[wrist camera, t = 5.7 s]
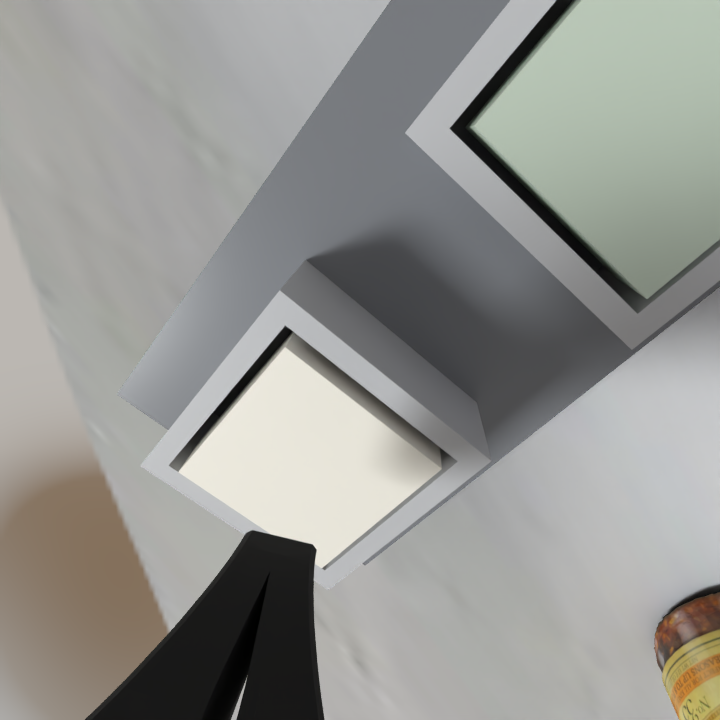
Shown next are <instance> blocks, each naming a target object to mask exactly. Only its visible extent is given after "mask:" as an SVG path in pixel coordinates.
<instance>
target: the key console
mask: <svg viewBox="0 0 720 720" xmlns="http://www.w3.org/2000/svg"><path fill="white" fill-rule="evenodd" d="M572 1H573V0H391V1H390V2H389V4H388V5H387V7H386V8H385V10H384V11H383V12H382V14H381V15H380V17H379V18H378V20H377V21H376V23H375V24H374V25H373V27H372V28H371V30H370V31H369V33H368V34H367V35H366V37H365V38H364V40H363V41H362V43H361V44H360V45H359V47H358V48H357V50H356V51H355V53H354V54H353V56H352V57H351V58H350V60H349V61H348V63H347V64H346V66H345V67H344V68H343V70H342V71H341V73H340V74H339V76H338V77H337V79H336V80H335V81H334V83H333V84H332V86H331V87H330V89H329V90H328V91H327V93H326V94H325V96H324V97H323V99H322V100H321V101H320V103H319V104H318V106H317V107H316V109H315V110H314V112H313V113H312V114H311V116H310V117H309V119H308V120H307V122H306V123H305V124H304V126H303V127H302V129H301V130H300V132H299V133H298V135H297V136H296V137H295V139H294V140H293V142H292V143H291V145H290V146H289V147H288V149H287V150H286V152H285V153H284V155H283V156H282V157H281V159H280V160H279V162H278V163H277V165H276V166H275V168H274V169H273V170H272V172H271V173H270V175H269V176H268V178H267V179H266V180H265V182H264V183H263V185H262V186H261V188H260V189H259V191H258V192H257V193H256V195H255V196H254V198H253V199H252V201H251V202H250V203H249V205H248V206H247V208H246V209H245V211H244V212H243V213H242V215H241V216H240V218H239V219H238V221H237V222H236V224H235V225H234V226H233V228H232V229H231V231H230V232H229V234H228V235H227V236H226V238H225V239H224V241H223V242H222V244H221V245H220V247H219V248H218V249H217V251H216V252H215V254H214V255H213V257H212V258H211V259H210V261H209V262H208V264H207V265H206V267H205V268H204V269H203V271H202V272H201V274H200V275H199V277H198V278H197V280H196V281H195V282H194V284H193V285H192V287H191V288H190V290H189V291H188V292H187V294H186V295H185V297H184V298H183V300H182V301H181V303H180V304H179V305H178V307H177V308H176V310H175V311H174V313H173V314H172V315H171V317H170V318H169V320H168V321H167V323H166V324H165V326H164V327H163V328H162V330H161V331H160V333H159V334H158V336H157V337H156V338H155V340H154V341H153V343H152V344H151V346H150V347H149V348H148V350H147V351H146V353H145V354H144V356H143V357H142V359H141V360H140V361H139V363H138V364H137V366H136V367H135V369H134V370H133V371H132V373H131V374H130V376H129V377H128V379H127V380H126V382H125V383H124V384H123V386H122V387H121V389H120V390H119V392H118V393H117V395H118V396H120V397H121V398H123V399H124V400H125V401H127V402H128V403H130V404H131V405H133V406H134V407H136V408H137V409H139V410H140V411H141V412H143V413H144V414H146V415H147V416H149V417H150V418H152V419H153V420H155V421H156V422H157V423H159V424H160V425H162V426H163V427H165V428H166V429H168V431H167V433H166V434H165V435H164V436H163V438H162V439H161V440H160V441H159V443H158V444H157V445H156V446H155V448H154V449H153V450H152V451H151V453H150V454H149V455H148V456H147V458H146V459H145V460H144V461H143V463H142V464H141V465H140V466H141V467H142V468H144V469H145V470H147V471H148V472H150V473H151V474H153V475H154V476H156V477H157V478H159V479H160V480H162V481H163V482H165V483H166V484H168V485H170V486H171V487H173V488H174V489H176V490H177V491H179V492H180V493H182V494H183V495H185V496H186V497H188V498H189V499H191V500H192V501H194V502H195V503H197V504H198V505H200V506H201V507H203V508H204V509H206V510H207V511H209V512H210V513H212V514H213V515H215V516H216V517H218V518H219V519H221V520H223V521H224V522H226V523H227V524H229V525H230V526H232V527H233V528H235V529H236V530H238V531H239V532H241V533H242V534H244V535H245V534H246V533H247V532H249V531H251V530H255V531H259V532H263V533H267V534H270V533H268V532H267V531H265V530H264V529H262V528H261V527H259V526H258V525H256V524H255V523H253V522H252V521H250V520H249V519H247V518H246V517H244V516H243V515H241V514H240V513H238V512H237V511H235V510H234V509H232V508H231V507H229V506H228V505H226V504H225V503H223V502H222V501H220V500H219V499H217V498H216V497H214V496H213V495H211V494H210V493H208V492H207V491H205V490H204V489H202V488H201V487H199V486H198V485H196V484H195V483H194V482H192V481H191V480H189V479H188V478H186V477H185V476H183V475H182V474H180V473H179V470H180V469H181V467H182V466H183V464H184V463H185V462H186V460H187V459H188V457H189V456H190V454H191V453H192V451H193V450H194V449H195V447H196V446H197V444H198V443H199V441H200V440H201V438H202V437H203V436H204V435H205V434H206V433H207V431H208V430H209V429H210V428H211V427H212V425H213V424H214V423H215V422H216V421H217V420H218V418H219V417H220V416H221V415H222V414H223V412H224V411H225V410H226V409H227V408H228V407H229V405H230V404H231V403H232V402H233V401H234V400H235V398H236V397H237V396H238V395H239V394H240V392H241V391H242V390H243V389H244V388H245V387H246V385H247V384H248V383H249V382H250V381H251V379H252V378H253V377H254V376H255V375H256V374H257V372H258V371H259V370H260V369H261V368H262V366H263V365H264V364H265V363H266V362H267V361H268V359H269V358H270V357H271V356H272V355H273V353H274V352H275V351H276V350H277V349H278V348H279V346H280V345H281V344H282V343H283V342H284V341H285V339H286V338H287V337H288V336H289V335H290V333H291V332H292V331H293V332H294V333H296V334H297V335H298V336H299V337H301V338H302V339H303V340H304V341H306V342H307V343H308V344H310V345H311V346H312V347H313V348H315V349H316V350H317V351H318V352H320V353H321V354H322V355H323V356H325V357H326V358H327V359H329V360H330V361H331V362H332V363H334V364H335V365H336V366H337V367H339V368H340V369H341V370H342V371H344V372H345V373H346V374H348V375H349V376H350V377H351V378H353V379H354V380H355V381H356V382H358V383H359V384H360V385H361V386H363V387H364V388H365V389H367V390H368V391H369V392H370V393H372V394H373V395H374V396H375V397H377V398H378V399H379V400H380V401H382V402H383V403H384V404H386V405H387V406H388V407H389V408H391V409H392V410H393V411H394V412H396V413H397V414H398V415H399V416H401V417H402V418H403V419H405V420H406V421H407V422H408V423H410V424H411V425H412V426H413V427H415V428H416V429H417V430H419V431H420V432H421V433H422V434H424V435H425V436H426V437H427V438H429V439H430V440H431V441H432V442H434V443H435V444H436V445H438V446H439V447H440V455H441V465H442V469H441V470H440V471H439V472H438V473H437V474H435V475H434V476H433V477H432V478H430V479H429V480H428V481H427V482H426V483H424V484H423V485H422V486H421V487H420V488H418V489H417V490H416V491H415V492H414V493H412V494H411V495H410V496H409V497H407V498H406V499H405V500H404V501H403V502H401V503H400V504H399V505H398V506H397V507H395V508H394V509H393V510H392V511H391V512H389V513H388V514H387V515H386V516H385V517H383V518H382V519H381V520H380V521H378V522H377V523H376V524H375V525H374V526H372V527H371V528H370V529H369V530H368V531H366V532H365V533H364V534H363V535H362V536H360V537H359V538H358V539H357V540H355V541H354V542H353V543H352V544H351V545H349V546H348V547H347V548H346V549H345V550H343V551H342V552H341V553H340V554H339V555H337V556H336V557H335V558H334V559H333V560H331V561H330V562H329V563H328V564H326V565H325V566H324V567H323V568H320V567H319V566H317V565H316V564H315V567H314V581H315V582H316V583H318V584H319V585H321V586H322V587H324V588H326V589H327V590H329V589H331V588H332V587H333V586H334V585H336V584H337V583H338V582H339V581H341V580H342V579H343V578H344V577H346V576H347V575H348V574H350V573H351V572H352V571H353V570H355V569H356V568H357V567H358V566H360V565H361V564H364V565H366V564H368V563H369V562H370V561H371V560H373V559H374V558H375V557H376V556H378V555H379V554H380V553H382V552H383V551H384V550H385V549H387V548H388V547H389V546H390V545H392V544H393V543H394V542H396V541H397V540H398V539H399V538H401V537H402V536H403V535H404V534H406V533H407V532H408V531H410V530H411V529H412V528H413V527H415V526H416V525H417V524H418V523H420V522H421V521H422V520H424V519H425V518H426V517H427V516H429V515H430V514H431V513H432V512H434V511H435V510H436V509H437V508H439V507H440V506H441V505H443V504H444V503H445V502H446V501H448V500H449V499H450V498H451V497H453V496H454V495H455V494H457V493H458V492H459V491H460V490H462V489H463V488H464V487H465V486H467V485H468V484H469V483H471V482H472V481H473V480H474V479H476V478H477V477H478V476H479V475H481V474H482V473H483V472H485V471H486V470H487V469H488V468H490V467H491V466H492V465H493V464H495V463H496V462H497V461H499V460H500V459H501V458H502V457H504V456H505V455H506V454H507V453H509V452H510V451H511V450H513V449H514V448H515V447H516V446H518V445H519V444H520V443H521V442H523V441H524V440H525V439H527V438H528V437H529V436H530V435H532V434H533V433H534V432H535V431H537V430H538V429H539V428H541V427H542V426H543V425H544V424H546V423H547V422H548V421H549V420H551V419H552V418H553V417H555V416H556V415H557V414H558V413H560V412H561V411H562V410H563V409H565V408H566V407H567V406H568V405H570V404H571V403H572V402H574V401H575V400H576V399H577V398H579V397H580V396H581V395H582V394H584V393H585V392H586V391H588V390H589V389H590V388H591V387H593V386H594V385H595V384H596V383H598V382H599V381H600V380H602V379H603V378H604V377H605V376H607V375H608V374H609V373H610V372H612V371H613V370H614V369H616V368H617V367H618V366H619V365H621V364H622V363H623V362H624V361H626V360H627V359H628V358H630V357H631V356H632V355H633V354H635V353H636V352H637V351H638V350H640V349H641V348H642V347H644V346H645V345H646V344H647V343H649V342H650V341H651V340H652V339H654V338H655V337H656V336H658V335H659V334H660V333H661V332H663V331H664V330H665V329H666V328H668V327H669V326H670V325H672V324H673V323H674V322H675V321H677V320H678V319H679V318H680V317H682V316H683V315H684V314H686V313H687V312H688V311H689V310H691V309H692V308H693V307H694V306H696V305H697V304H698V303H700V302H701V301H702V300H703V299H705V298H706V297H707V296H708V295H710V294H711V293H712V292H713V291H715V290H716V289H717V288H719V287H720V239H719V240H718V241H717V242H716V243H715V244H713V245H712V246H711V247H710V248H709V249H707V250H706V251H705V252H704V253H703V254H701V255H700V256H699V257H698V258H696V259H695V260H694V261H693V262H692V263H690V264H689V265H688V266H687V267H686V268H684V269H683V270H682V271H681V272H680V273H678V274H677V275H676V276H675V277H673V278H672V279H671V280H670V281H669V282H667V283H666V284H665V285H664V286H663V287H661V288H660V289H659V290H658V291H657V292H655V293H654V294H653V295H652V296H651V297H649V298H648V299H646V298H644V297H643V296H642V295H640V294H639V293H637V292H636V291H634V290H633V289H631V288H630V287H628V286H627V285H625V284H624V283H622V282H621V281H620V280H618V279H617V278H616V277H615V276H614V275H613V274H612V273H611V272H610V271H609V270H608V269H607V268H606V267H605V266H604V265H603V264H602V263H601V262H600V261H599V260H598V259H597V258H596V257H595V256H594V255H593V254H592V253H591V252H589V251H588V250H587V249H586V248H585V247H584V246H583V245H582V244H581V243H580V242H579V241H578V240H577V239H576V238H575V237H574V236H573V235H572V234H571V233H570V232H569V231H568V230H567V229H566V228H565V227H564V226H563V225H562V224H561V223H560V222H559V221H558V220H557V219H556V218H555V217H554V216H553V215H552V214H551V213H550V212H549V211H548V210H547V209H546V208H545V207H544V206H543V205H542V204H541V203H540V202H539V201H538V200H537V199H536V198H535V197H534V196H533V195H532V194H531V193H530V192H529V191H528V190H527V189H526V188H525V187H524V186H523V185H522V184H521V183H520V182H519V181H518V180H517V179H516V178H515V177H514V176H513V175H512V174H511V173H510V172H509V171H508V170H507V169H506V168H505V167H504V166H503V165H502V164H501V163H500V162H499V161H498V160H497V159H496V158H495V157H494V156H493V155H492V154H491V153H490V152H489V151H488V150H487V149H486V148H485V147H484V146H483V145H482V144H481V143H480V142H479V141H478V140H477V139H476V138H475V137H474V136H473V135H472V134H471V133H470V132H469V131H468V130H467V129H466V128H465V127H466V126H467V125H468V123H469V122H470V121H471V120H472V119H473V117H474V116H475V115H476V114H477V113H478V112H479V110H480V109H481V108H482V107H483V106H484V104H485V103H486V102H487V101H488V100H489V99H490V97H491V96H492V95H493V94H494V93H495V91H496V90H497V89H498V88H499V87H500V86H501V84H502V83H503V82H504V81H505V80H506V79H507V77H508V76H509V75H510V74H511V73H512V71H513V70H514V69H515V68H516V67H517V66H518V64H519V63H520V62H521V61H522V60H523V58H524V57H525V56H526V55H527V54H528V53H529V51H530V50H531V49H532V48H533V47H534V45H535V44H536V43H537V42H538V41H539V40H540V38H541V37H542V36H543V35H544V34H545V32H546V31H547V30H548V29H549V28H550V27H551V25H552V24H553V23H554V22H555V21H556V20H557V18H558V17H559V16H560V15H561V14H562V12H563V11H564V10H565V9H566V8H567V7H568V5H569V4H570V3H571V2H572Z"/></svg>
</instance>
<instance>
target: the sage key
mask: <svg viewBox="0 0 720 720" xmlns="http://www.w3.org/2000/svg"><path fill="white" fill-rule="evenodd" d="M465 128H466V129H467V130H468V131H469V132H470V133H471V134H472V135H473V136H474V137H475V138H476V139H477V140H478V141H479V142H480V143H481V144H482V145H483V146H484V147H485V148H486V149H487V150H488V151H489V152H490V153H491V154H492V155H493V156H494V157H495V158H496V159H497V160H498V161H499V162H500V163H501V164H502V165H503V166H504V167H505V168H506V169H507V170H508V171H509V172H510V173H511V174H512V175H513V176H514V177H515V178H516V179H517V180H518V181H519V182H520V183H521V184H522V185H523V186H524V187H525V188H526V189H527V190H528V191H529V192H530V193H531V194H532V195H533V196H534V197H535V198H536V199H537V200H538V201H539V202H540V203H541V204H542V205H543V206H544V207H545V208H546V209H547V210H548V211H549V212H550V213H551V214H552V215H553V216H554V217H555V218H556V219H557V220H558V221H559V222H560V223H561V224H562V225H563V226H564V227H565V228H566V229H567V230H568V231H569V232H570V233H571V234H572V235H573V236H574V237H575V238H576V239H577V240H578V241H579V242H580V243H581V244H582V245H583V246H584V247H585V248H586V249H587V250H588V251H589V252H591V253H592V254H593V255H594V256H595V257H596V258H597V259H598V260H599V261H600V262H601V263H602V264H603V265H604V266H605V267H606V268H607V269H608V270H609V271H610V272H611V273H612V274H613V275H614V276H615V277H616V278H617V279H618V280H620V281H621V282H622V283H624V284H625V285H627V286H628V287H630V288H631V289H633V290H634V291H636V292H637V293H639V294H640V295H642V296H643V297H644V298H646V299H648V298H649V297H651V296H652V295H653V294H654V293H655V292H657V291H658V290H659V289H660V288H661V287H663V286H664V285H665V284H666V283H667V282H669V281H670V280H671V279H672V278H673V277H675V276H676V275H677V274H678V273H680V272H681V271H682V270H683V269H684V268H686V267H687V266H688V265H689V264H690V263H692V262H693V261H694V260H695V259H696V258H698V257H699V256H700V255H701V254H703V253H704V252H705V251H706V250H707V249H709V248H710V247H711V246H712V245H713V244H715V243H716V242H717V241H718V240H719V239H720V0H573V1H572V2H571V3H570V4H569V5H568V7H567V8H566V9H565V10H564V11H563V12H562V14H561V15H560V16H559V17H558V18H557V20H556V21H555V22H554V23H553V24H552V25H551V27H550V28H549V29H548V30H547V31H546V32H545V34H544V35H543V36H542V37H541V38H540V40H539V41H538V42H537V43H536V44H535V45H534V47H533V48H532V49H531V50H530V51H529V53H528V54H527V55H526V56H525V57H524V58H523V60H522V61H521V62H520V63H519V64H518V66H517V67H516V68H515V69H514V70H513V71H512V73H511V74H510V75H509V76H508V77H507V79H506V80H505V81H504V82H503V83H502V84H501V86H500V87H499V88H498V89H497V90H496V91H495V93H494V94H493V95H492V96H491V97H490V99H489V100H488V101H487V102H486V103H485V104H484V106H483V107H482V108H481V109H480V110H479V112H478V113H477V114H476V115H475V116H474V117H473V119H472V120H471V121H470V122H469V123H468V125H467V126H466V127H465Z"/></svg>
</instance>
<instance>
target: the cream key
mask: <svg viewBox="0 0 720 720" xmlns="http://www.w3.org/2000/svg"><path fill="white" fill-rule="evenodd" d="M441 469H442V465H441V455H440V447H439V446H438V445H436V444H435V443H434V442H432V441H431V440H430V439H429V438H427V437H426V436H425V435H424V434H422V433H421V432H420V431H419V430H417V429H416V428H415V427H413V426H412V425H411V424H410V423H408V422H407V421H406V420H405V419H403V418H402V417H401V416H399V415H398V414H397V413H396V412H394V411H393V410H392V409H391V408H389V407H388V406H387V405H386V404H384V403H383V402H382V401H380V400H379V399H378V398H377V397H375V396H374V395H373V394H372V393H370V392H369V391H368V390H367V389H365V388H364V387H363V386H361V385H360V384H359V383H358V382H356V381H355V380H354V379H353V378H351V377H350V376H349V375H348V374H346V373H345V372H344V371H342V370H341V369H340V368H339V367H337V366H336V365H335V364H334V363H332V362H331V361H330V360H329V359H327V358H326V357H325V356H323V355H322V354H321V353H320V352H318V351H317V350H316V349H315V348H313V347H312V346H311V345H310V344H308V343H307V342H306V341H304V340H303V339H302V338H301V337H299V336H298V335H297V334H296V333H294V332H293V331H292V332H291V333H290V335H289V336H288V337H287V338H286V339H285V341H284V342H283V343H282V344H281V345H280V346H279V348H278V349H277V350H276V351H275V352H274V353H273V355H272V356H271V357H270V358H269V359H268V361H267V362H266V363H265V364H264V365H263V366H262V368H261V369H260V370H259V371H258V372H257V374H256V375H255V376H254V377H253V378H252V379H251V381H250V382H249V383H248V384H247V385H246V387H245V388H244V389H243V390H242V391H241V392H240V394H239V395H238V396H237V397H236V398H235V400H234V401H233V402H232V403H231V404H230V405H229V407H228V408H227V409H226V410H225V411H224V412H223V414H222V415H221V416H220V417H219V418H218V420H217V421H216V422H215V423H214V424H213V425H212V427H211V428H210V429H209V430H208V431H207V433H206V434H205V435H204V436H203V437H202V438H201V440H200V441H199V443H198V444H197V446H196V447H195V449H194V450H193V451H192V453H191V454H190V456H189V457H188V459H187V460H186V462H185V463H184V464H183V466H182V467H181V469H180V470H179V473H180V474H182V475H183V476H185V477H186V478H188V479H189V480H191V481H192V482H194V483H195V484H196V485H198V486H199V487H201V488H202V489H204V490H205V491H207V492H208V493H210V494H211V495H213V496H214V497H216V498H217V499H219V500H220V501H222V502H223V503H225V504H226V505H228V506H229V507H231V508H232V509H234V510H235V511H237V512H238V513H240V514H241V515H243V516H244V517H246V518H247V519H249V520H250V521H252V522H253V523H255V524H256V525H258V526H259V527H261V528H262V529H264V530H265V531H267V532H268V533H270V534H271V535H276V536H280V537H284V538H288V539H292V540H297V541H301V542H305V543H309V544H313V546H314V547H315V548H316V549H317V552H316V558H315V564H316V565H317V566H319V567H320V568H323V567H324V566H325V565H326V564H328V563H329V562H330V561H331V560H333V559H334V558H335V557H336V556H337V555H339V554H340V553H341V552H342V551H343V550H345V549H346V548H347V547H348V546H349V545H351V544H352V543H353V542H354V541H355V540H357V539H358V538H359V537H360V536H362V535H363V534H364V533H365V532H366V531H368V530H369V529H370V528H371V527H372V526H374V525H375V524H376V523H377V522H378V521H380V520H381V519H382V518H383V517H385V516H386V515H387V514H388V513H389V512H391V511H392V510H393V509H394V508H395V507H397V506H398V505H399V504H400V503H401V502H403V501H404V500H405V499H406V498H407V497H409V496H410V495H411V494H412V493H414V492H415V491H416V490H417V489H418V488H420V487H421V486H422V485H423V484H424V483H426V482H427V481H428V480H429V479H430V478H432V477H433V476H434V475H435V474H437V473H438V472H439V471H440V470H441Z"/></svg>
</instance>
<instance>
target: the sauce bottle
mask: <svg viewBox="0 0 720 720" xmlns="http://www.w3.org/2000/svg"><path fill="white" fill-rule="evenodd" d="M654 648H655V652H656V656H657V663H658V665H659V667H660V669H661V671H662V679H663V683H664V686H665V688H666V690H667V693H668V695H669V697H670V700H671V702H672V704H673V706H674V709H675V711H676V713H677V716H678V718H679V720H720V592H718V593H716V594H710V595H707V596H704V597H699V598H696V599H694V600H692V601H690V602H688V603H685V604H683V605H681V606H679V607H677V608H676V609H675V610H674V611H672V612H671V613H670V614H668V615H666V616H665V617H664V620H662V621H661V622H660V623H659V625H658V627H657V631H656V633H655V647H654Z"/></svg>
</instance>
